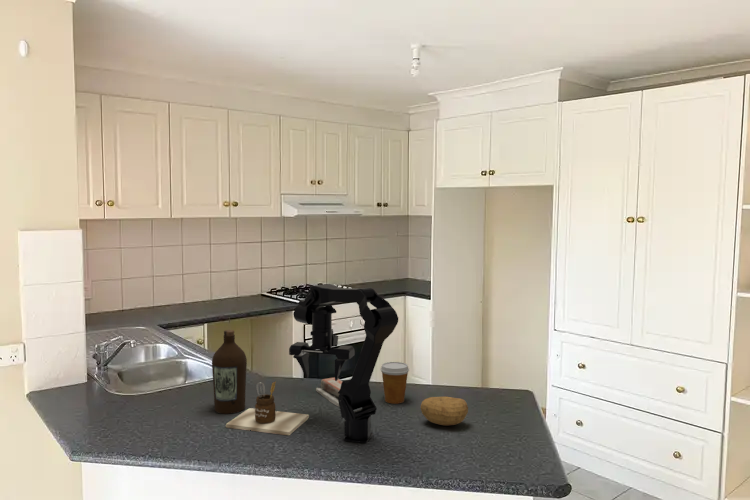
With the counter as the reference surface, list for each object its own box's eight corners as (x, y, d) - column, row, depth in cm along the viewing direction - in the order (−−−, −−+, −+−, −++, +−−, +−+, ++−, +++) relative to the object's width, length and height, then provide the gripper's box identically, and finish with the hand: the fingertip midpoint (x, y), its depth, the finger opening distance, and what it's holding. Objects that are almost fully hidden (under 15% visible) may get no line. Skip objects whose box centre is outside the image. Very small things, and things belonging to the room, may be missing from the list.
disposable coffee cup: (414, 402, 186) (415, 366, 185) (391, 407, 180) (391, 370, 180) (397, 394, 194) (397, 359, 193) (374, 399, 188) (374, 364, 187)
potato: (422, 416, 173) (423, 390, 172) (469, 420, 169) (469, 394, 169) (417, 428, 163) (417, 401, 163) (466, 433, 160) (466, 405, 159)
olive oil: (219, 402, 184) (218, 327, 182) (251, 403, 183) (250, 327, 182) (207, 414, 173) (206, 334, 172) (241, 415, 173) (240, 334, 171)
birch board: (308, 418, 171) (308, 414, 171) (289, 435, 157) (289, 432, 157) (249, 411, 176) (249, 408, 176) (225, 427, 163) (225, 424, 163)
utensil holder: (263, 415, 170) (262, 376, 169) (280, 418, 167) (280, 379, 166) (250, 421, 165) (250, 381, 164) (268, 425, 162) (268, 384, 161)
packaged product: (315, 378, 196) (340, 374, 201) (315, 392, 197) (340, 388, 201) (337, 393, 181) (364, 388, 186) (337, 408, 181) (364, 403, 186)
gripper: (360, 323, 171) (360, 374, 172) (303, 320, 176) (303, 369, 177) (348, 331, 160) (348, 385, 161) (288, 327, 165) (288, 379, 166)
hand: (321, 379), depth 167 cm, fingers open, 9 cm apart
